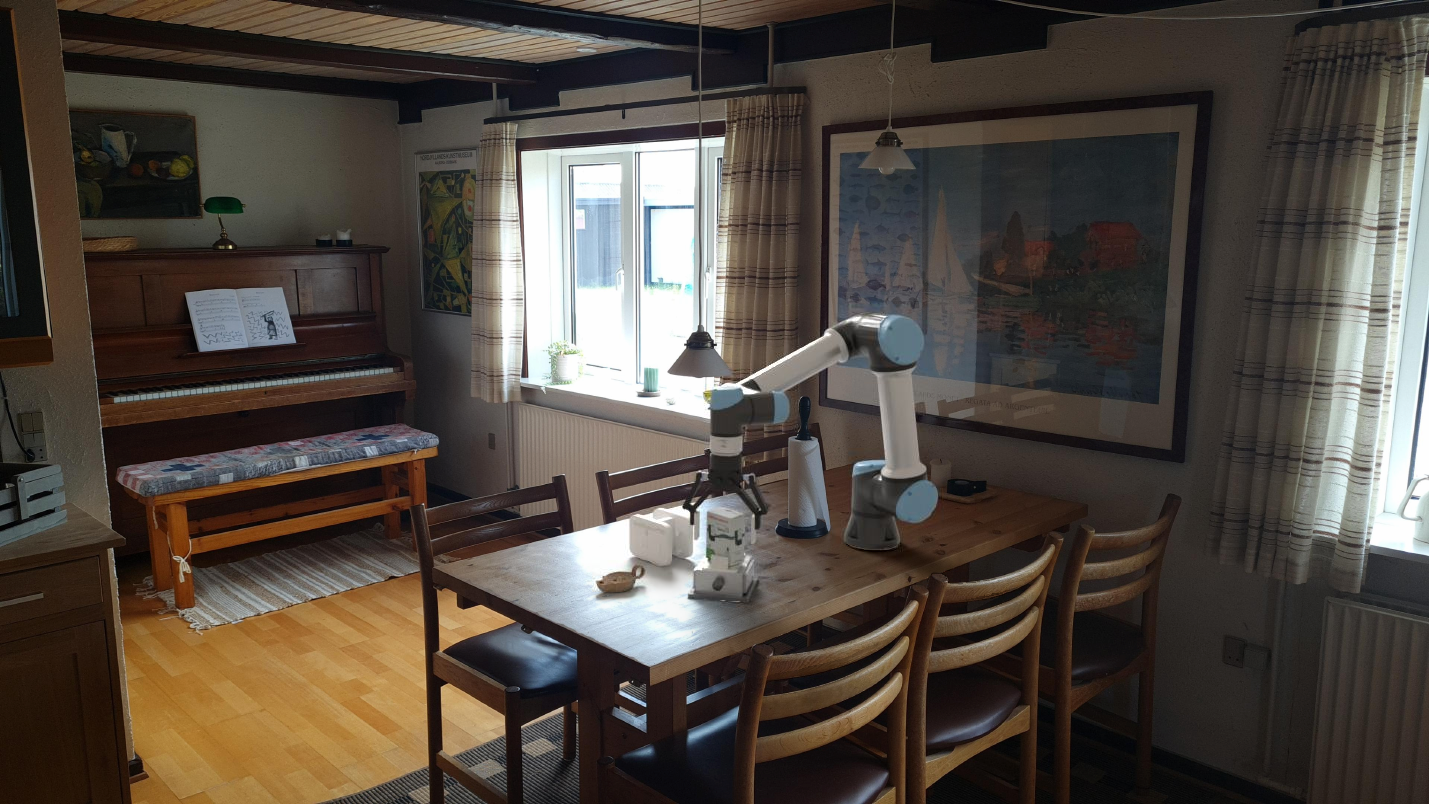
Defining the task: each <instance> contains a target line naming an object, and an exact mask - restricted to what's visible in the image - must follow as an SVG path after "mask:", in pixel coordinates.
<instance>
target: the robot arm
mask: <svg viewBox="0 0 1429 804" xmlns="http://www.w3.org/2000/svg"><path fill="white" fill-rule="evenodd" d="M924 347H925V339H924V334H923V331H922V329H921V327H920V325H918V323H917V322H916V321H915V320H914V319H912V318H910V317H907V316H904V315H901V314H890V313H881V312H880V313H879V312H874V311H868V312H861V313H858V314H855V315H852V316H850V317H849V318H846V319H844V320H842V321H841V322H840V321H839V322H838V323H837V324H835V325H833V326H831V327H829V328H827V329H826V330H825V331H824V333H823V335H822V336H821V337H819V338H817V339H816V340H814V341H812V342H810V343H808V344H806V345H805V346H803V347H801V348H799V349H797V350H796V351H793V352H792V353H790V354H788V355H786V356H785V357H783V358H781V359H779V360H777V361H775V362H774V363H772V364H770V365H769V366H766V367H765V368H763V369H761V370H759V371H757V372H756V373H755V372H754V373H753V374H751V375H750V376H747V378H744V379H742V380H740V381H739V382H726V383H724V384H722V385H717V386H714V387H713V388H712V389H711V391H710V400H709V402H710V403H709V410H710V414H709V421H710V422H709V426H710V427H709V428H710V431H709V433H710V434H709V451H710V452H711V453H710V454H709V472H705V471H703V470H702V469H700V470H698V471H697V472H696V474H695V481H694V483H693V485H692V486H691V489H690V490H689V493H688V495H687V497H686V499H685V501H684V502H683V504H682V506H681V507H682V508H681V509H683V510H684V511H689V517H690V524H691V525H693V541H698V540H699V538H700V529H701V527H700V525H701V524H700V523H701V520H700V519H701V517H700V516H701V513H700V512H701V511H700V510H699V509H698V508H699V507H700V506H702V504H703V503H704V502H705V501H706V499H708V497H710V496H711V494H712V493H713V492H714V491H717V492H718V493H723V492H725V493H733V492H735V494H736V495H737V496H739V498H740V499H741V501H742V502H743V503H744V504H745V506H746V507H747V508H748V509H749V510H750V512H752V515H751V517H750V518H751V519H750V521H751V523H750V527H751V529H750V544H751V545H754V544H755V543H756V542H757V530H760V528H761V527H762V526H761V524H762V522H761V521H762V520H761V519H762V517H761V516H764V515H767V514H768V512H769V510H770V509H769V507H768V504H767V503H766V500H765V498H764V496H763V494H762V492H761V490H760V488H759V485H758V483H757V477H756V473H754V472H751V473H750V474H749V473H748V474H744V473H743V454H742V453H741V452H743V428H744V427H748V426H759V425H761V426H762V425H776V424H780V423H784V422H785V421H786V420H788V417H789V416H790V412H791V411H790V401H789V398H788V396H787V394H785V393H784V392H785V391H788V390H789V389H791V388H793V387H794V386H796V385H798V384H800V383H801V382H802V383H803V382H804V381H806V380H807V379H808V378H810V377H813V376H815V375H816V374H818V373H820V372H821V371H824V370H825V369H827V368H829V367H831V366H832V365H834V364H836V363H841V364H843V363H846V362H848V361H849V360H851V359H854V358H855V359H856V358H862V357H863V358H868V361H869V364H868V365H869V371H870V372H871V373H872V374H874V375H875V376H876V380H877V388H878V399H879V400H878V401H879V410H880V419H881V429H882V437H883V449H884V459H876V460H875V459H873V460H872V459H871V460H862V461H858V462H856V463H855V464H853V468H852V475H851V477H852V480H851V481H852V483H851V485H852V486H851V512H850V513H851V515H850V517H849V520H848V523H847V525H846V527H845V530H844V535H843V542H844V541H845V542H846V543H848V544H850V545H852V546H856V547H860V548H867V549H884V548H892V547H894V546H897V545H898V544H899V543H901V542H900V541H901V540H900V539H901V536H900V534H899V530H898V526H897V523H896V519H895V518H897V519H898V520H900V521H902V522H908V523H911V524H917V523H921V522H923V521H925V520H926V519H927V518H929V517H930V516H931V515H932V512H933V511H934V510H935V508H936V506H937V503H938V500H939V495H938V489H937V487H936V485H935V484H933V482H932V481H930V480H928V474H927V466H926V465H924V464H923V463H922V462H921V461H920V452H919V443H918V431H917V421H916V419H917V418H916V409H915V402H914V401H915V398H914V389H913V380H912V372H913V371H914V370H915V369H916V367H917V360H919V358H920V357H921V355H922V354H921V353H922V352H923V350H924ZM706 479H708V481H709V483H711V485H710V486H709V487H708V488H707V489H706V490H705V492H704V493H703V494H702V495H700V497H699V498H698V499H697V500H696V501H695V502H694V503H693V504H692V501H693V500H694V498H695V495H696V494H697V491H698V489H699V487H700V485H701V484H702V482H704V481H705V480H706ZM743 481H745V482H746V483H747V485H749V488H750V490H751V493H752V494H753V497H754V499H755V501H756V502H757V503H756V502H755V501H754V500H753V499H752V498H751V496H750V495H749V494H748V493H747V492H746V490H745V488H744V487H743V485H742V484H741V483H742V482H743ZM899 545H900V544H899Z"/></svg>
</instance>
